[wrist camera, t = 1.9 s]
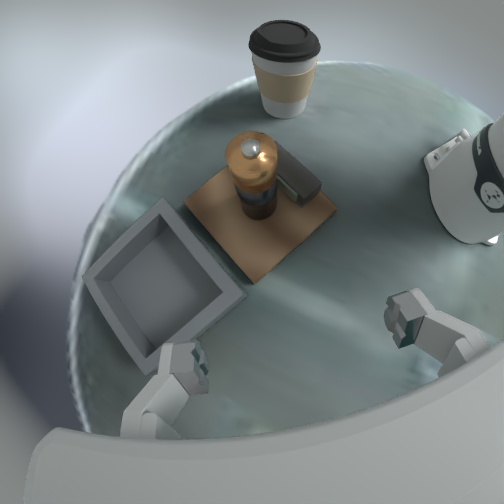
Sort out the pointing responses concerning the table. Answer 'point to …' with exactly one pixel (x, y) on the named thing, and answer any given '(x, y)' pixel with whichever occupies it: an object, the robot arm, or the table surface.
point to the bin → (160, 285)
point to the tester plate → (267, 230)
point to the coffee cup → (284, 65)
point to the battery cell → (254, 173)
